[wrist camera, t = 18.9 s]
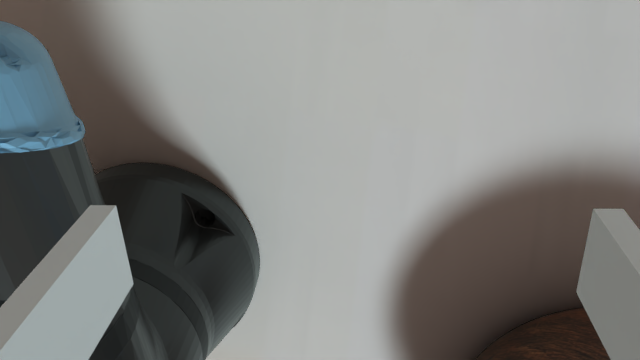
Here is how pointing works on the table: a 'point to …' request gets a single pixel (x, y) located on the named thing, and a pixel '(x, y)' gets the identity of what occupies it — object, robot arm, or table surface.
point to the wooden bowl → (550, 340)
